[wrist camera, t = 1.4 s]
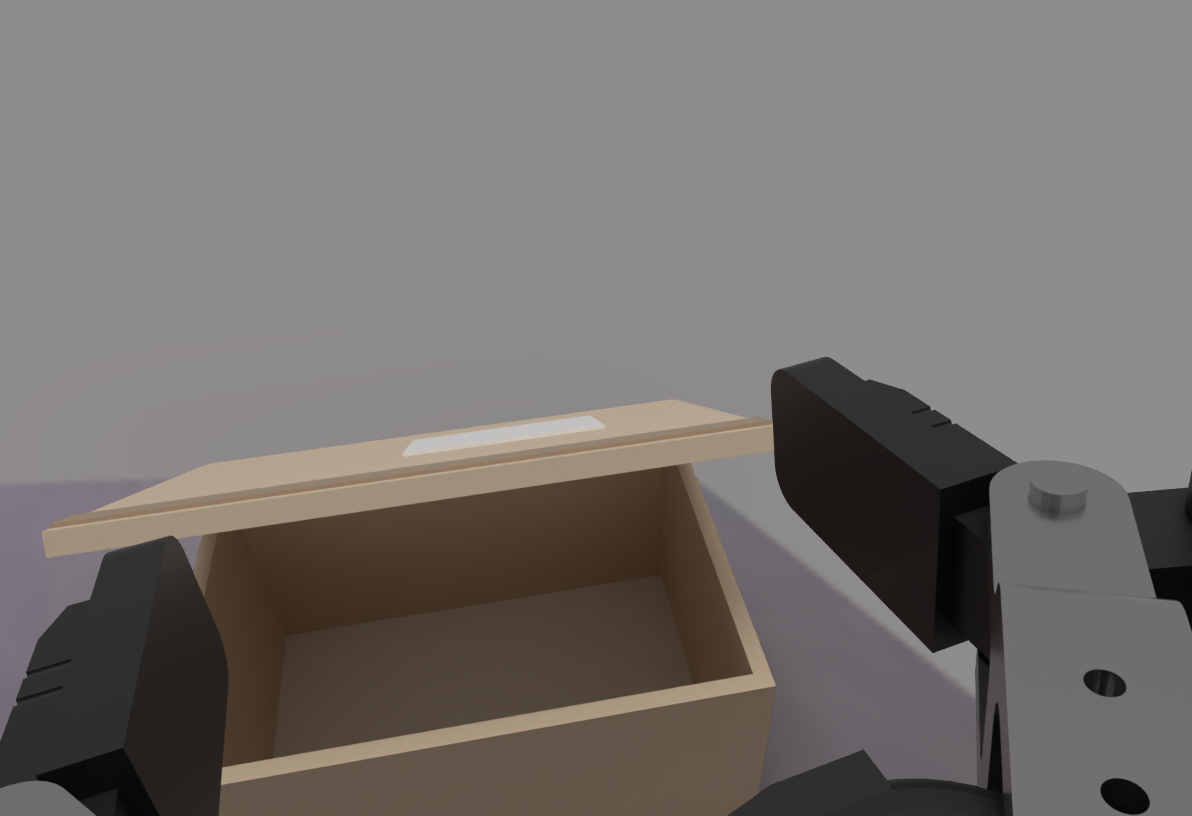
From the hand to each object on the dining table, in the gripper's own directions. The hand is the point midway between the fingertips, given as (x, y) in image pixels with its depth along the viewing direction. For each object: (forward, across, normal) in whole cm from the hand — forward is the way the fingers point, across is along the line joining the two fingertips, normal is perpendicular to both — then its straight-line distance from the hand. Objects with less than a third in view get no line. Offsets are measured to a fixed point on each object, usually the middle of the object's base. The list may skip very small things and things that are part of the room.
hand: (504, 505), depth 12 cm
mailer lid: (+14, 0, +7) cm, 16 cm away
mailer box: (+16, +1, +20) cm, 25 cm away
